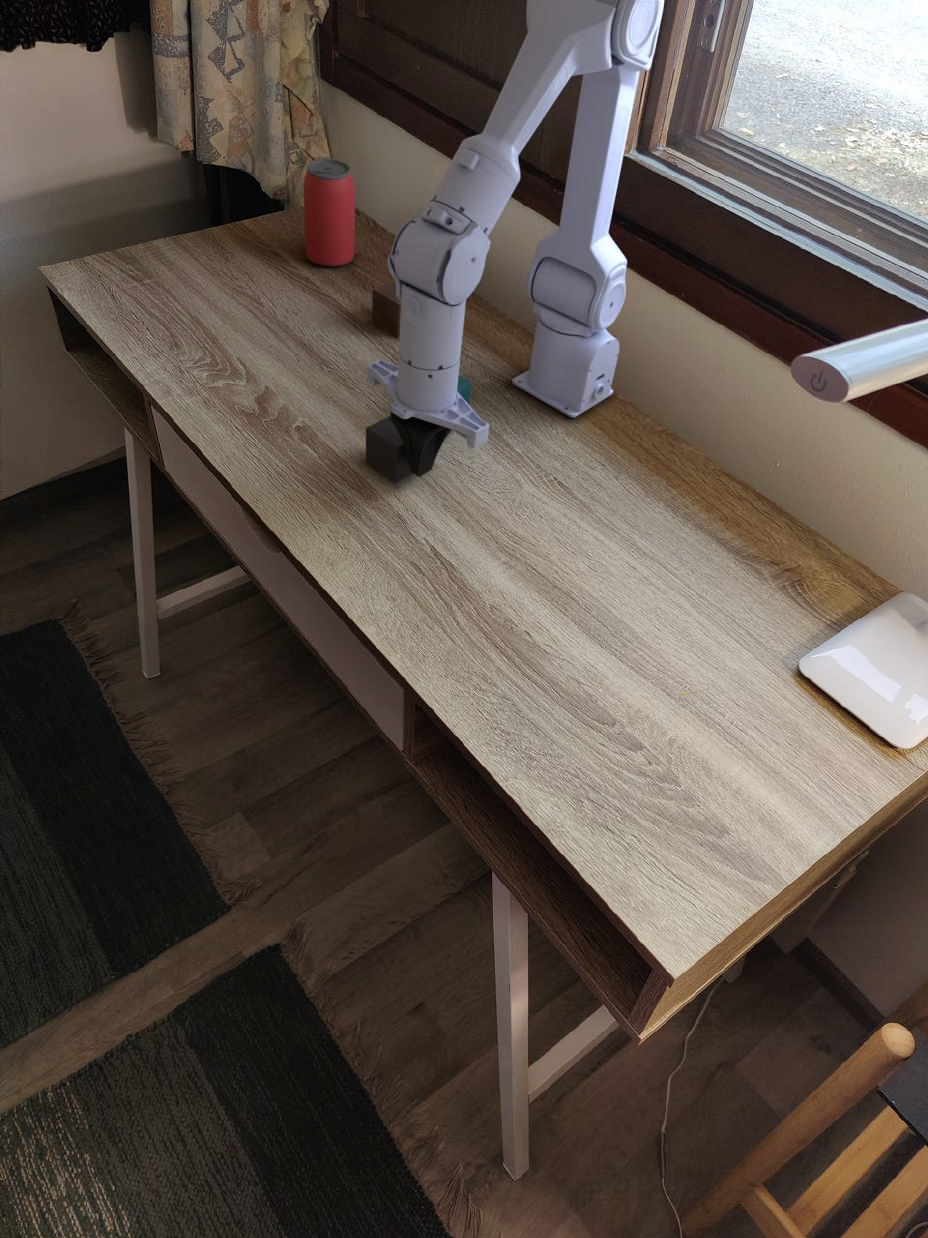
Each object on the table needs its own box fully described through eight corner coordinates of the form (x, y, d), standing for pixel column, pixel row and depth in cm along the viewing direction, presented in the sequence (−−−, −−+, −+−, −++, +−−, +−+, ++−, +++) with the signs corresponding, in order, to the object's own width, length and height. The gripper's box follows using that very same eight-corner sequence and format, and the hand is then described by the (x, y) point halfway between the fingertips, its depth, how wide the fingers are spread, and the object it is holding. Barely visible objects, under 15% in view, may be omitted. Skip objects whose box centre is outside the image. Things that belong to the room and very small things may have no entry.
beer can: (296, 252, 130) (293, 161, 121) (338, 242, 133) (337, 153, 124) (321, 273, 127) (319, 181, 118) (363, 262, 130) (364, 172, 121)
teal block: (468, 416, 108) (472, 382, 104) (440, 432, 105) (444, 397, 102) (439, 399, 109) (442, 364, 106) (411, 414, 107) (413, 379, 104)
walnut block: (422, 325, 120) (424, 292, 117) (396, 337, 118) (398, 303, 114) (397, 311, 122) (398, 277, 119) (371, 322, 120) (372, 289, 116)
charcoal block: (425, 465, 101) (428, 430, 98) (395, 483, 98) (396, 447, 95) (395, 446, 103) (397, 411, 99) (365, 463, 100) (365, 427, 97)
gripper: (344, 335, 89) (344, 452, 99) (458, 404, 83) (446, 522, 93) (397, 311, 93) (392, 426, 103) (510, 375, 87) (493, 491, 97)
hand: (421, 470), depth 98 cm, fingers closed
